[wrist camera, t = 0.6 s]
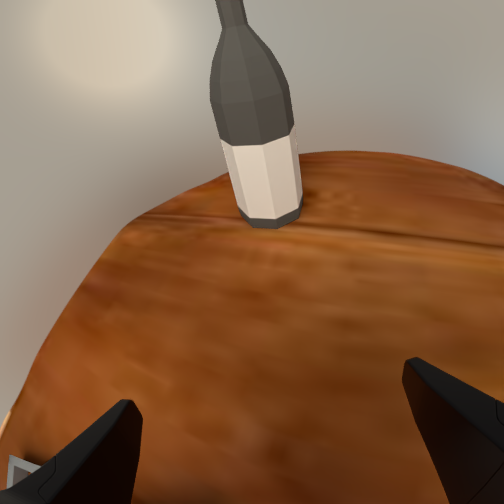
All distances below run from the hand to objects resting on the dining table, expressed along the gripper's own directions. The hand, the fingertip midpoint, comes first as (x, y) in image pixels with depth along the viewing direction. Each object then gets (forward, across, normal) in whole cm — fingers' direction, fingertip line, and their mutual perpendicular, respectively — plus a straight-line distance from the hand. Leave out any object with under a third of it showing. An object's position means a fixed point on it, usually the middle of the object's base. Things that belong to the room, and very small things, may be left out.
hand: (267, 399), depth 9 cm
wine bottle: (+31, -2, +1) cm, 31 cm away
